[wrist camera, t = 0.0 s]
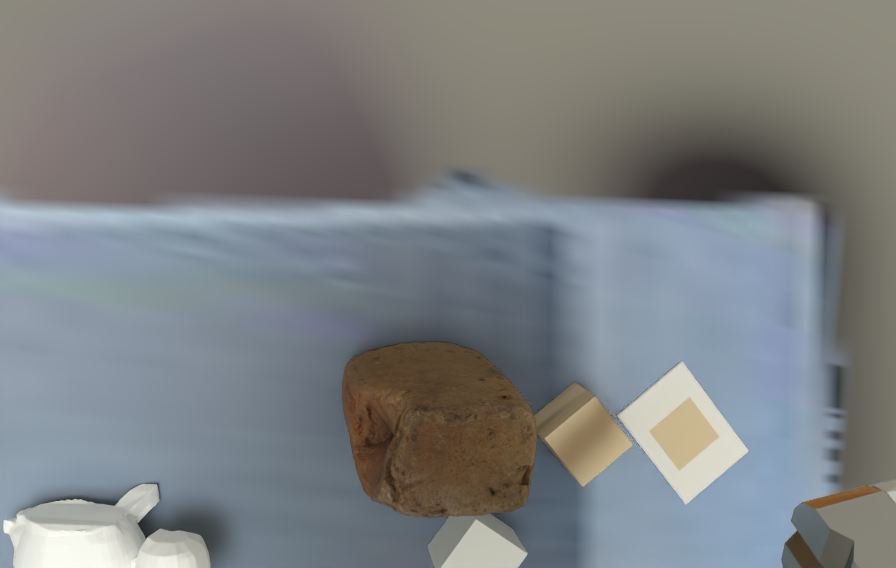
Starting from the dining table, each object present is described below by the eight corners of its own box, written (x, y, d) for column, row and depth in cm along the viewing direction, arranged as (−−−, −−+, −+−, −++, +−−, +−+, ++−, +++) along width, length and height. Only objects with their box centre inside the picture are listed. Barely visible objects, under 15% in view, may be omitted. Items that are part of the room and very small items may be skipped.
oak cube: (609, 427, 69) (633, 444, 64) (563, 466, 69) (582, 487, 64) (574, 381, 68) (595, 395, 63) (527, 420, 68) (544, 438, 63)
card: (746, 449, 71) (749, 451, 71) (684, 503, 71) (686, 505, 70) (680, 361, 69) (683, 361, 69) (616, 415, 69) (618, 416, 68)
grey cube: (511, 528, 68) (527, 553, 64) (475, 577, 68) (488, 607, 63) (463, 495, 67) (476, 519, 63) (427, 545, 67) (436, 573, 62)
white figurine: (62, 580, 66) (239, 598, 63) (-19, 636, 58) (180, 660, 54) (56, 475, 65) (235, 488, 62) (-27, 515, 57) (175, 533, 54)
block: (479, 339, 66) (551, 400, 47) (474, 432, 67) (544, 530, 47) (340, 337, 64) (355, 400, 45) (338, 432, 65) (351, 535, 46)
